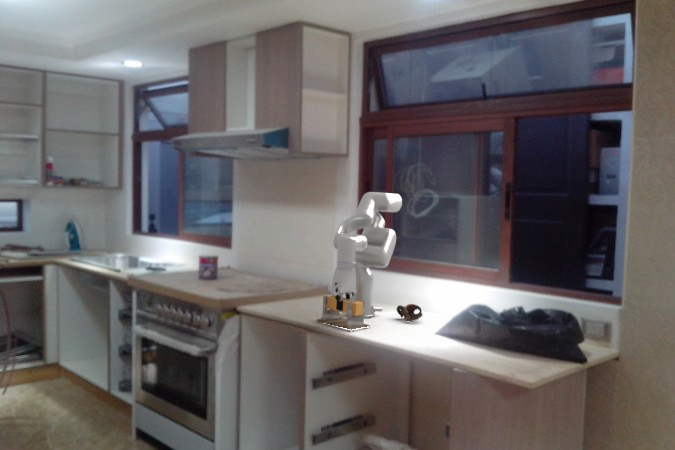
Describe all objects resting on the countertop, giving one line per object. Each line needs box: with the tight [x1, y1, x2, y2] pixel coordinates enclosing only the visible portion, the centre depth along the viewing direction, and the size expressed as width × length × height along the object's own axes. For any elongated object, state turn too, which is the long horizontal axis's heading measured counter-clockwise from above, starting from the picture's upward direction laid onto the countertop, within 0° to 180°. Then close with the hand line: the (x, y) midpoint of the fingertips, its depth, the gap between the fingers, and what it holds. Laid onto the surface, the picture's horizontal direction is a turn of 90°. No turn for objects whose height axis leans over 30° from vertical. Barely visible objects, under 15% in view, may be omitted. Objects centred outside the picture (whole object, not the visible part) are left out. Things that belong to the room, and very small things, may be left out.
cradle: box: [316, 295, 370, 330], centre depth 264 cm, size 20×11×11 cm, turn 45°
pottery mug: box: [395, 303, 423, 322], centre depth 279 cm, size 12×10×8 cm
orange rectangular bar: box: [327, 294, 363, 316], centre depth 264 cm, size 18×4×5 cm, turn 45°
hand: (343, 309), depth 264 cm, fingers closed on orange rectangular bar, 4 cm apart
